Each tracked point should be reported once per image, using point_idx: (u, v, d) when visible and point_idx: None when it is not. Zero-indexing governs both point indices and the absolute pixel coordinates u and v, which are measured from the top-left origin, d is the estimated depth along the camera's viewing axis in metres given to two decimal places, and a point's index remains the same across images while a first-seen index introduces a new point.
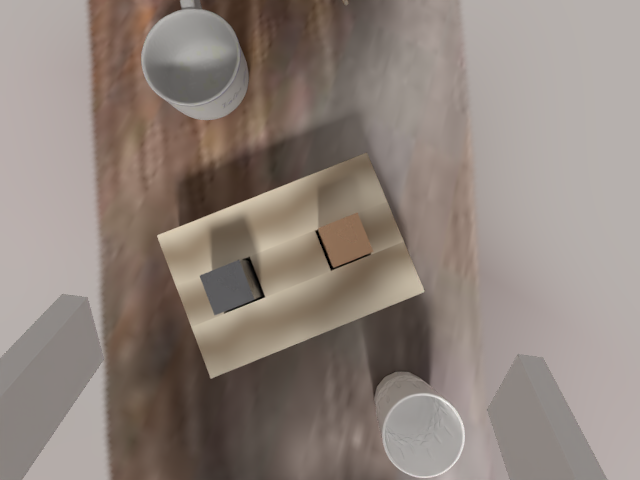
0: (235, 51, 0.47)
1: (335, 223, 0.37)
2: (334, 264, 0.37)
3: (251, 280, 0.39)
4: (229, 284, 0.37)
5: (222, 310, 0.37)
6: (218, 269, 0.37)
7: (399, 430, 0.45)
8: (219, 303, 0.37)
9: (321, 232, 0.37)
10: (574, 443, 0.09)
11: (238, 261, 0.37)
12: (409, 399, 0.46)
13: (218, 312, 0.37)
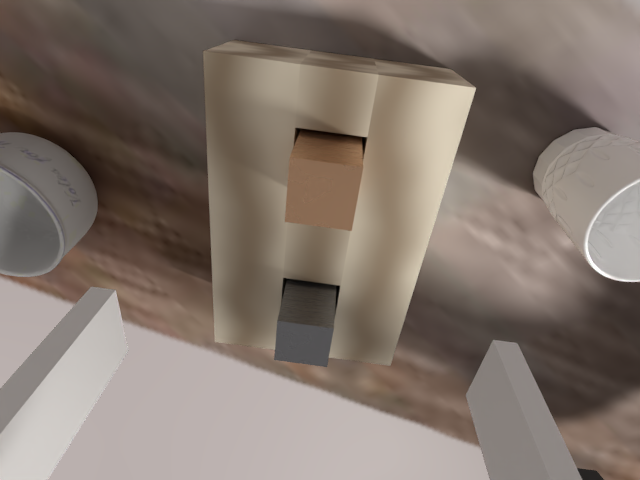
0: None
1: (290, 196, 0.22)
2: (347, 228, 0.23)
3: (311, 305, 0.29)
4: (300, 341, 0.28)
5: (326, 358, 0.29)
6: (277, 342, 0.29)
7: (608, 203, 0.31)
8: (316, 357, 0.29)
9: (293, 221, 0.23)
10: (541, 422, 0.10)
11: (279, 322, 0.28)
12: None
13: (325, 362, 0.29)
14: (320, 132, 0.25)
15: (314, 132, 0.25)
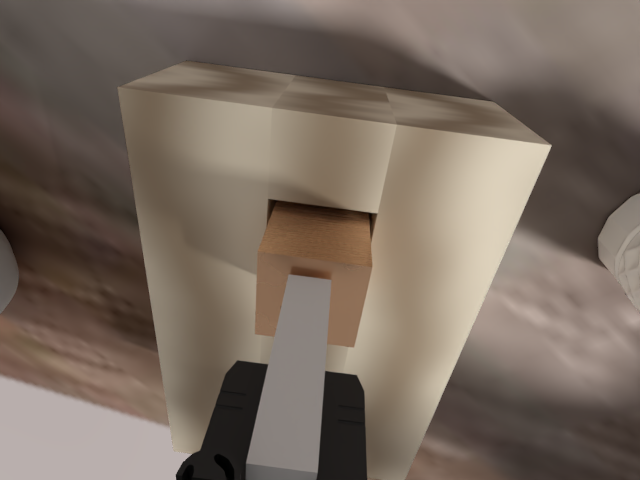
0: None
1: (261, 302, 0.15)
2: (348, 345, 0.16)
3: None
4: None
5: None
6: None
7: None
8: None
9: (267, 333, 0.16)
10: (315, 335, 0.11)
11: None
12: None
13: None
14: None
15: None
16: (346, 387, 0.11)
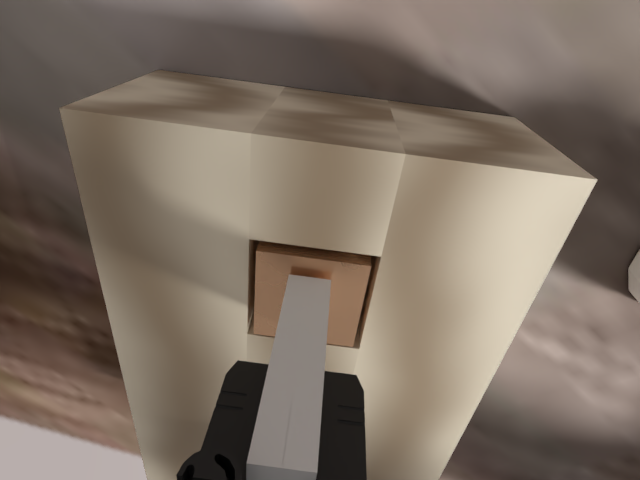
0: None
1: (259, 302, 0.15)
2: (347, 344, 0.16)
3: None
4: None
5: None
6: None
7: None
8: None
9: (266, 333, 0.16)
10: (314, 335, 0.11)
11: None
12: None
13: None
14: None
15: None
16: (346, 387, 0.11)
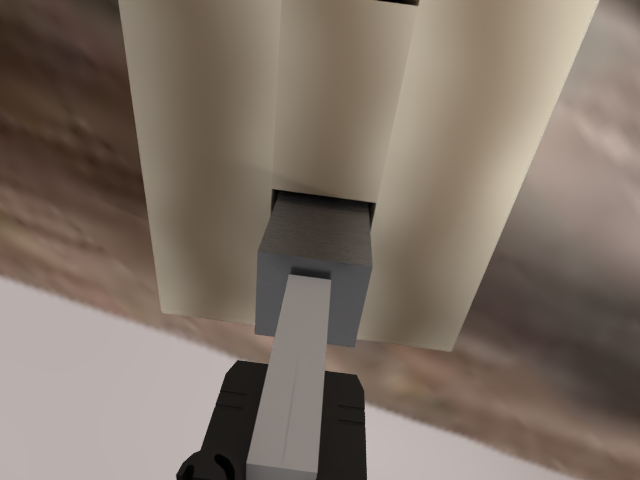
0: None
1: None
2: None
3: (324, 229, 0.15)
4: None
5: (353, 331, 0.15)
6: (259, 298, 0.15)
7: None
8: (335, 329, 0.15)
9: None
10: (314, 335, 0.11)
11: (261, 254, 0.14)
12: None
13: (352, 338, 0.15)
14: None
15: None
16: (346, 387, 0.11)
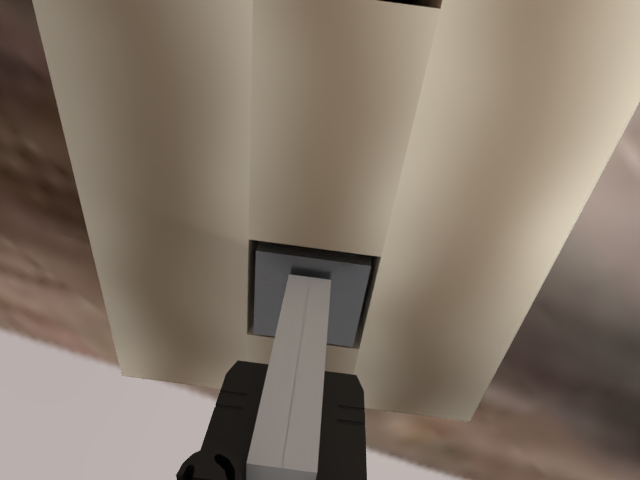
0: None
1: None
2: None
3: None
4: None
5: (352, 330, 0.15)
6: (257, 298, 0.15)
7: None
8: (333, 328, 0.15)
9: None
10: (314, 335, 0.11)
11: (259, 253, 0.14)
12: None
13: (351, 338, 0.15)
14: None
15: None
16: (346, 387, 0.11)
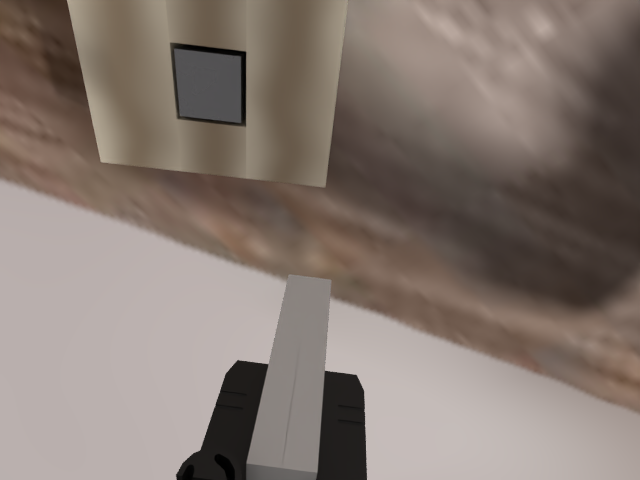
0: None
1: None
2: None
3: (219, 48, 0.25)
4: (205, 81, 0.24)
5: (238, 109, 0.25)
6: (179, 86, 0.25)
7: None
8: (227, 108, 0.25)
9: None
10: (314, 335, 0.11)
11: (176, 51, 0.24)
12: None
13: (239, 116, 0.26)
14: None
15: None
16: (346, 387, 0.11)
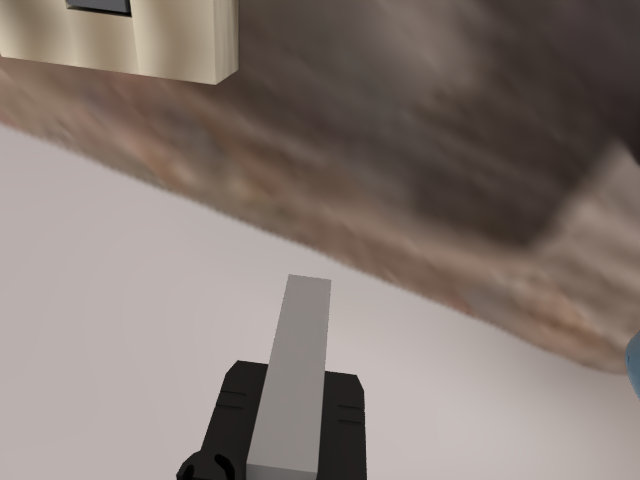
0: None
1: None
2: None
3: None
4: None
5: None
6: None
7: None
8: None
9: None
10: (314, 335, 0.11)
11: None
12: None
13: (123, 4, 0.27)
14: None
15: None
16: (346, 387, 0.11)
